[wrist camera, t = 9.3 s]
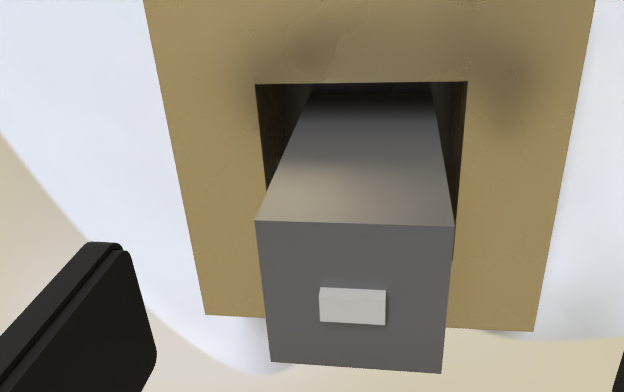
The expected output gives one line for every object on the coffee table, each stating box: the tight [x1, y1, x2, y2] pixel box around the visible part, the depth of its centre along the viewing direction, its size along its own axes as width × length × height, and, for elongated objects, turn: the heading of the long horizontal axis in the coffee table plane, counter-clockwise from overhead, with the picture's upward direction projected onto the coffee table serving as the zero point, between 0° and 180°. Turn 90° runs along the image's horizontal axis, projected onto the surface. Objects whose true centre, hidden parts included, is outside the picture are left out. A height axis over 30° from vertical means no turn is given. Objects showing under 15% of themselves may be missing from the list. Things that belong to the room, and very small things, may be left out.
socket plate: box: [143, 0, 596, 332], centre depth 17 cm, size 11×11×4 cm
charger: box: [254, 94, 455, 374], centre depth 15 cm, size 4×4×8 cm
